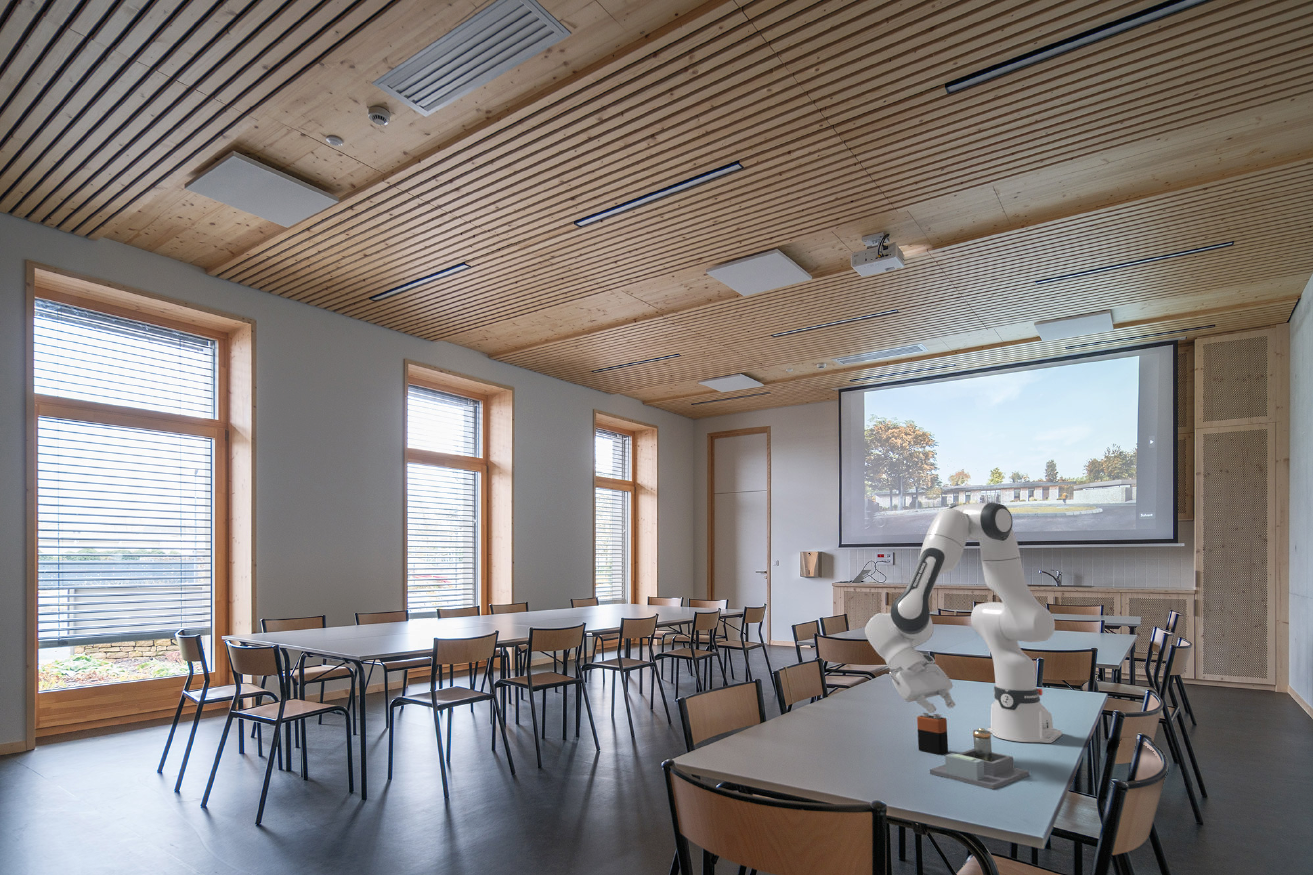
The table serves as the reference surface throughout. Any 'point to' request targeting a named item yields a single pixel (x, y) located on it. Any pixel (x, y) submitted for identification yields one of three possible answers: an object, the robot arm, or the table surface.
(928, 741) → the battery
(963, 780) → the tester
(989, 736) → the cell
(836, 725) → the table surface
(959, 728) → the table surface
